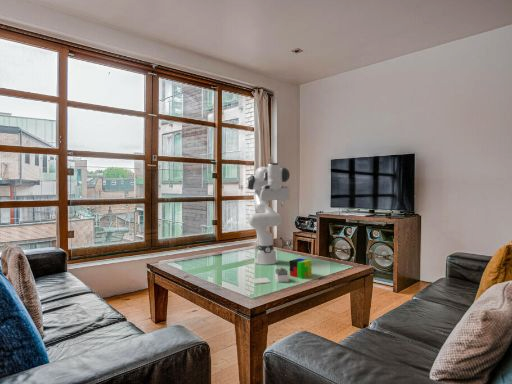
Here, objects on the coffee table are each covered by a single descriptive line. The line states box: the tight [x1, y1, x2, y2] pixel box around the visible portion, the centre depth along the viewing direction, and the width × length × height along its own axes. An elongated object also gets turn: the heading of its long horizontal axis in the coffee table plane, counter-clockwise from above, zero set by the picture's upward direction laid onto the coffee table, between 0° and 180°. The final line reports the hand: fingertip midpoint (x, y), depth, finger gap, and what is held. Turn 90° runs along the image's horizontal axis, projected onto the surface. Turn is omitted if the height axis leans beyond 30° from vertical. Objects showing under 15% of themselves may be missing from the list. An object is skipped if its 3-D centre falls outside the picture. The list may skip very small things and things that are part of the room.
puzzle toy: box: [289, 257, 312, 279], centre depth 219 cm, size 10×10×10 cm
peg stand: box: [274, 266, 290, 283], centre depth 209 cm, size 7×7×8 cm
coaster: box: [251, 277, 271, 285], centre depth 208 cm, size 10×10×1 cm
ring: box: [275, 268, 289, 276], centre depth 209 cm, size 6×6×2 cm
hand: (275, 206), depth 226 cm, fingers open, 8 cm apart
